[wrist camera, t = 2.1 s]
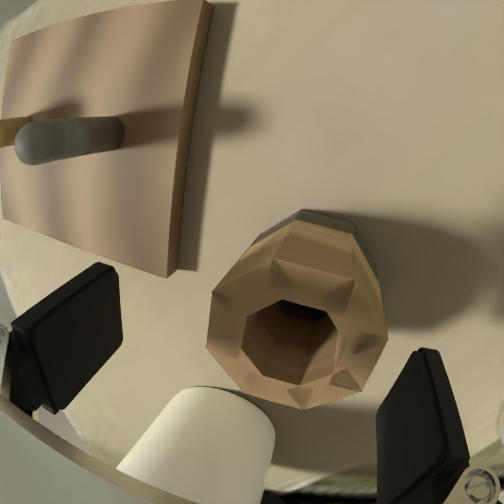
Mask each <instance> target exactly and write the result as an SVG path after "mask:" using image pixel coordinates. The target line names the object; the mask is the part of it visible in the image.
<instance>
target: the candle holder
mask: <svg viewBox="0 0 504 504" xmlns="http://www.w3.org/2000/svg"><path fill="white" fill-rule="evenodd" d="M275 437H276V435H275V429H274V427H273V424H272V423H271V421H270V419H269V418H268V417H267V416H266V415H265V414H264V413H263V412H262V411H261V410H260V409H259V408H258V407H256V406H255V405H254V404H252V403H251V402H249V401H247V400H246V399H244V398H242V397H240V396H238V395H235V394H233V393H230V392H227V391H224V390H221V389H216V388H211V387H192V388H187V389H184V390H182V391H180V392H179V393H177V394H176V395H175V396H174V397H173V398H172V399H171V400H170V402H169V403H168V404H167V405H166V406H165V408H164V409H163V410H162V411H161V413H160V414H159V415H158V416H157V418H156V419H155V420H154V421H153V423H152V424H151V425H150V426H149V428H148V429H147V430H146V431H145V432H144V434H143V435H142V436H141V437H140V439H139V440H138V441H137V442H136V444H135V445H134V446H133V447H132V449H131V450H130V451H129V452H128V454H127V455H126V456H125V457H124V458H123V460H122V461H121V462H120V463H119V465H118V466H117V467H116V468H115V469H117V470H119V471H121V472H123V473H125V474H127V475H129V476H131V477H134V478H136V479H138V480H140V481H142V482H145V483H147V484H149V485H152V486H154V487H156V488H159V489H161V490H164V491H166V492H169V493H171V494H174V495H176V496H179V497H182V498H185V499H187V500H190V501H193V502H196V503H199V504H261V500H262V496H263V492H264V488H265V484H266V480H267V476H268V472H269V468H270V464H271V459H272V455H273V450H274V445H275Z"/></svg>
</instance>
